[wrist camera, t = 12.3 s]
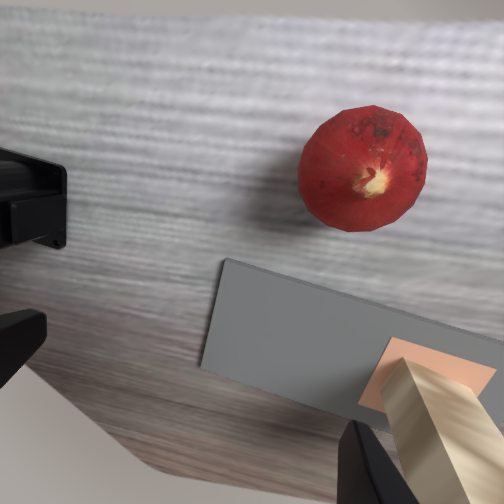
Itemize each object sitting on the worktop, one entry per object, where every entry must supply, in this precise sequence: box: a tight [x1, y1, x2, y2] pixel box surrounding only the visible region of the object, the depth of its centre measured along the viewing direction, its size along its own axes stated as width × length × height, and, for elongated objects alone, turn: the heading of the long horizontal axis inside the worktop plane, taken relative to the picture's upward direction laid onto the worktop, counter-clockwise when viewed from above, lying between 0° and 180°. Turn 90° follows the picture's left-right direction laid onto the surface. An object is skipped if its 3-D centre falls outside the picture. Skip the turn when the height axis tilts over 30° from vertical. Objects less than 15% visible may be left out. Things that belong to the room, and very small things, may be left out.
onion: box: [298, 105, 428, 232], centre depth 14 cm, size 6×6×8 cm
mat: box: [200, 258, 504, 434], centre depth 22 cm, size 22×10×1 cm, turn 76°
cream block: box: [379, 357, 504, 504], centre depth 15 cm, size 5×3×13 cm, turn 68°
